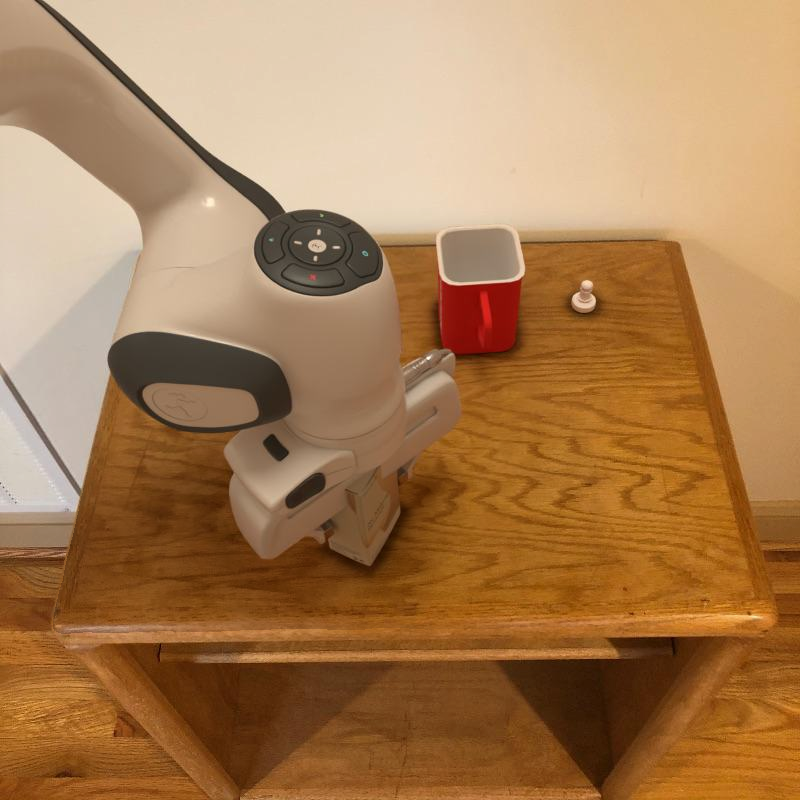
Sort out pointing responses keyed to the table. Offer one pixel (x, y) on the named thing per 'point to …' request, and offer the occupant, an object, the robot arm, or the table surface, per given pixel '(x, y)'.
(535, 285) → the table surface
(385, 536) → the cosmetic box
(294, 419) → the robot arm
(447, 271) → the mug
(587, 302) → the chess pawn
